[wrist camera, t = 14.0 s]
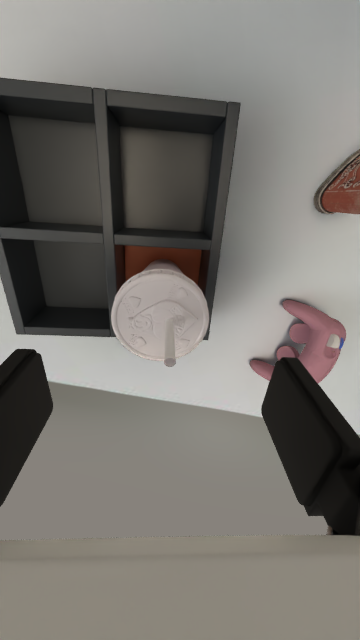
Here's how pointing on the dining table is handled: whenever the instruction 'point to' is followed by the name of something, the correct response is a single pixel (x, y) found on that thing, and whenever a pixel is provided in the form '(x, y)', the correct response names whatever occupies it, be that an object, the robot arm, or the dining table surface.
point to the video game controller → (309, 342)
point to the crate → (106, 197)
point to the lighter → (341, 189)
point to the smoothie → (160, 313)
